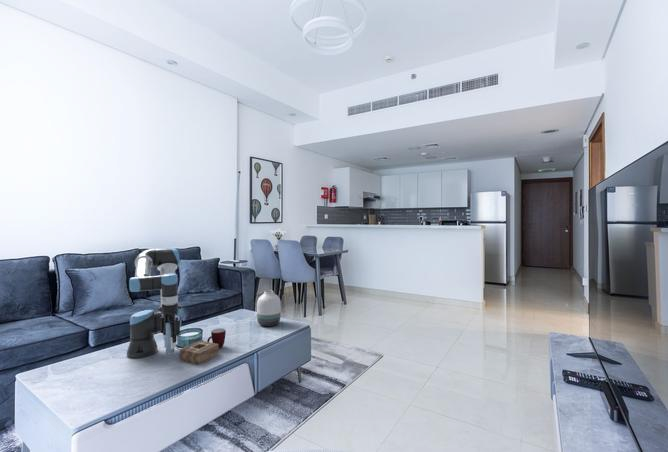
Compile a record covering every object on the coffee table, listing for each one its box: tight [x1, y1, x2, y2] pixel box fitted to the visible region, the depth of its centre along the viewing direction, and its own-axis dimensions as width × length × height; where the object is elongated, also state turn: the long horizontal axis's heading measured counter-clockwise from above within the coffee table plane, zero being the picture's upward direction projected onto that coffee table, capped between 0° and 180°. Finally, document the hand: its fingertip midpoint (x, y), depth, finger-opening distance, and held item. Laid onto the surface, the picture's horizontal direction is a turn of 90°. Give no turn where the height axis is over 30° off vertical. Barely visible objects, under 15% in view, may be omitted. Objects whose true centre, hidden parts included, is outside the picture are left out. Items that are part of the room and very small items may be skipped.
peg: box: [165, 322, 175, 355], centre depth 170 cm, size 4×4×16 cm
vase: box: [256, 289, 282, 327], centre depth 234 cm, size 17×17×24 cm
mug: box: [206, 327, 227, 349], centre depth 191 cm, size 11×8×10 cm
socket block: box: [179, 340, 220, 366], centre depth 178 cm, size 14×14×6 cm
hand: (170, 347), depth 170 cm, fingers closed on peg, 4 cm apart
